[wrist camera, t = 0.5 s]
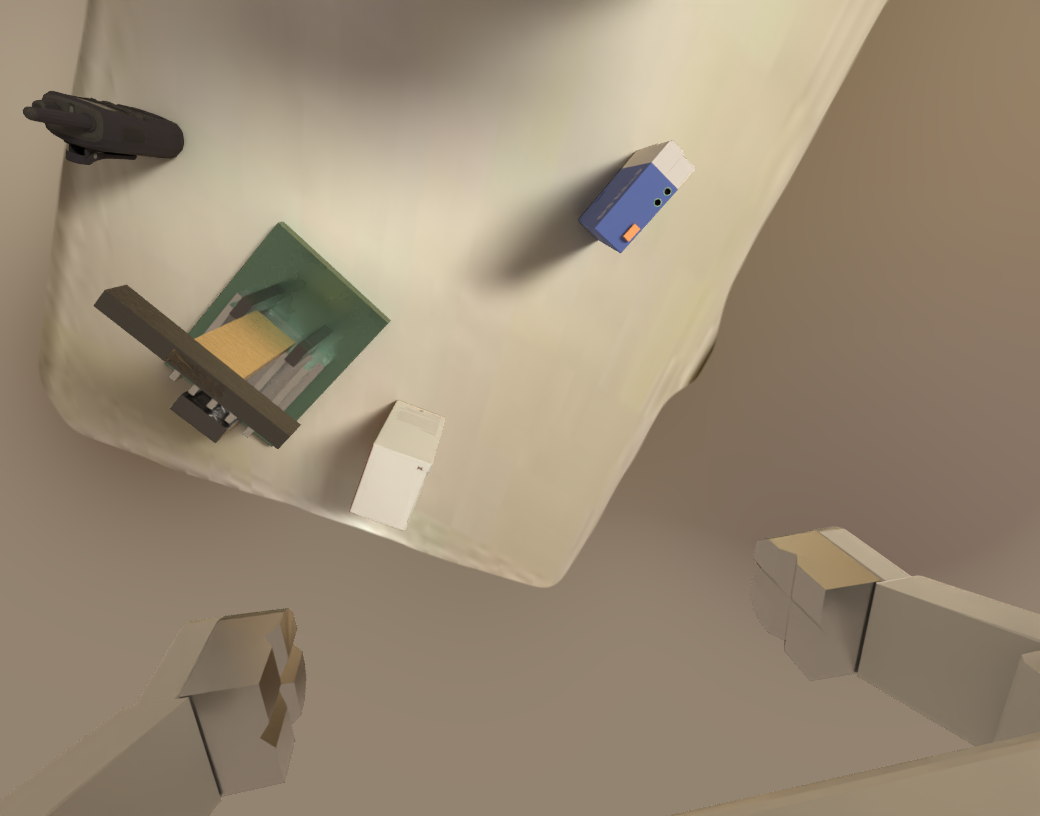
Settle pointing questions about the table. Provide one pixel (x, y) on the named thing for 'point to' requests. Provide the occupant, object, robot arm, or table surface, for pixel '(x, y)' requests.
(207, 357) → the lever
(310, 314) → the board
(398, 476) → the small box
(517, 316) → the table surface
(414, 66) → the table surface
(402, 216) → the table surface
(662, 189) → the walkman
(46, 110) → the two-way radio
